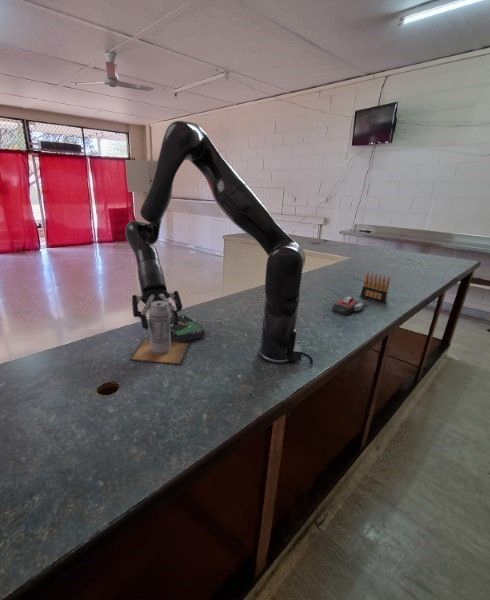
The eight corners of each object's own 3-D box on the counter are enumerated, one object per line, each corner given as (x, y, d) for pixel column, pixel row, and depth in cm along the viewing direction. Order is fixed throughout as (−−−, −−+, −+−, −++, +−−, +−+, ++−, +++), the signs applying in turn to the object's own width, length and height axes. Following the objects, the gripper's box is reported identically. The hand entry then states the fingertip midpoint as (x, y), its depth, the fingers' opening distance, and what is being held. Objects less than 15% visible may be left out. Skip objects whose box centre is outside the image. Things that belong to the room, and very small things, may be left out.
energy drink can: (172, 345, 97) (172, 300, 92) (168, 355, 92) (167, 308, 86) (153, 344, 98) (151, 299, 92) (148, 354, 92) (146, 306, 87)
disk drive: (158, 327, 110) (177, 343, 99) (157, 319, 109) (177, 335, 98) (184, 321, 116) (205, 336, 104) (184, 314, 115) (205, 328, 103)
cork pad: (188, 344, 99) (188, 343, 99) (179, 364, 88) (179, 363, 88) (145, 340, 101) (145, 339, 101) (131, 359, 90) (131, 358, 90)
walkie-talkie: (352, 317, 123) (368, 304, 137) (354, 306, 122) (370, 294, 136) (330, 310, 129) (348, 299, 143) (332, 300, 127) (350, 290, 141)
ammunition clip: (386, 302, 140) (392, 276, 136) (384, 303, 139) (390, 277, 135) (361, 295, 147) (367, 271, 143) (360, 296, 146) (365, 271, 142)
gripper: (128, 273, 90) (137, 325, 85) (176, 269, 96) (188, 318, 90) (126, 285, 97) (135, 334, 91) (171, 281, 102) (182, 328, 96)
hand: (161, 326), depth 90 cm, fingers open, 8 cm apart
